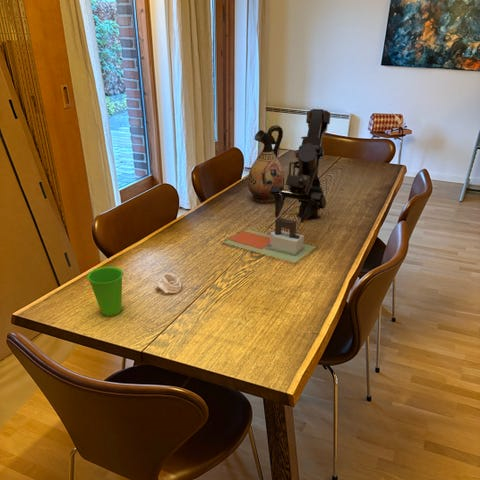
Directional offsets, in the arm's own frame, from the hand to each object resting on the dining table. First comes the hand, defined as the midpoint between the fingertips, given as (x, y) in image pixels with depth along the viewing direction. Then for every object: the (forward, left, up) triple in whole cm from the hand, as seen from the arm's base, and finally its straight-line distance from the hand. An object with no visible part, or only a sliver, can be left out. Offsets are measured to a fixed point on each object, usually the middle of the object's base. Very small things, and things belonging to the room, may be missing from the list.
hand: (288, 219), depth 155 cm
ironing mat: (+4, -4, -10) cm, 12 cm away
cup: (+63, +15, -10) cm, 65 cm away
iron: (+2, +1, -10) cm, 10 cm away
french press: (-38, -53, -10) cm, 66 cm away
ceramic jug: (-18, -48, -10) cm, 52 cm away
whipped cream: (+45, +10, -10) cm, 47 cm away
